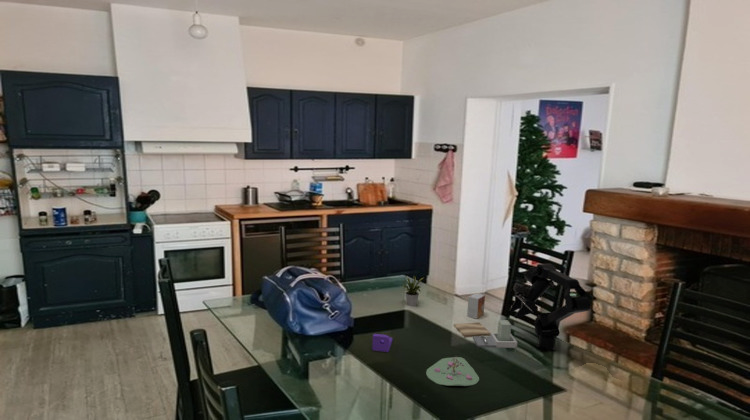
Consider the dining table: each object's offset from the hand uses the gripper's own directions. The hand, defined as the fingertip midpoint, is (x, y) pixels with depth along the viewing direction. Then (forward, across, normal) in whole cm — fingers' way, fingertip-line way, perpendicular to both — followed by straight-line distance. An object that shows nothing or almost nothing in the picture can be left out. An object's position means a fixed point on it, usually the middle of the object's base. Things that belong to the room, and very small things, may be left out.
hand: (512, 314), depth 218 cm
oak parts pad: (+19, -11, -4) cm, 22 cm away
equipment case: (+15, +1, +3) cm, 15 cm away
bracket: (+48, +9, -34) cm, 59 cm away
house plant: (+36, -42, -28) cm, 62 cm away
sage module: (+12, 0, +6) cm, 13 cm away
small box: (+15, -30, -2) cm, 34 cm away
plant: (+31, +29, -11) cm, 44 cm away
